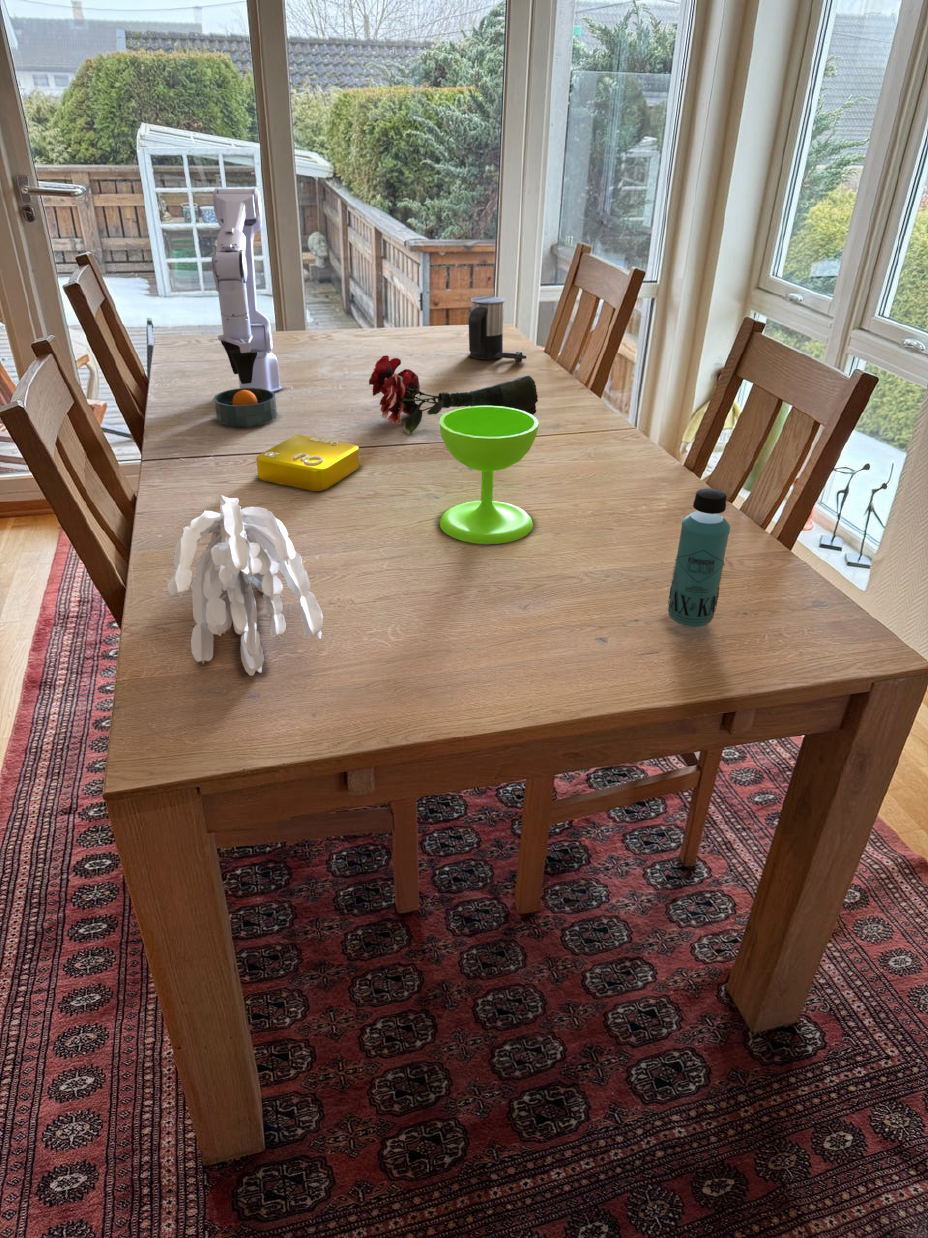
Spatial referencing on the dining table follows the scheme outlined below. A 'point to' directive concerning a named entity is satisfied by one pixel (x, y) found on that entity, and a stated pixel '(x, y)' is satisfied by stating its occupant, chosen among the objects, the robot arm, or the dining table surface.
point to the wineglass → (487, 470)
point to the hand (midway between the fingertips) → (242, 378)
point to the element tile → (308, 462)
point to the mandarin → (244, 398)
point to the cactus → (240, 579)
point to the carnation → (442, 394)
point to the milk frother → (488, 329)
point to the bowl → (245, 408)
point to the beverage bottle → (699, 560)
